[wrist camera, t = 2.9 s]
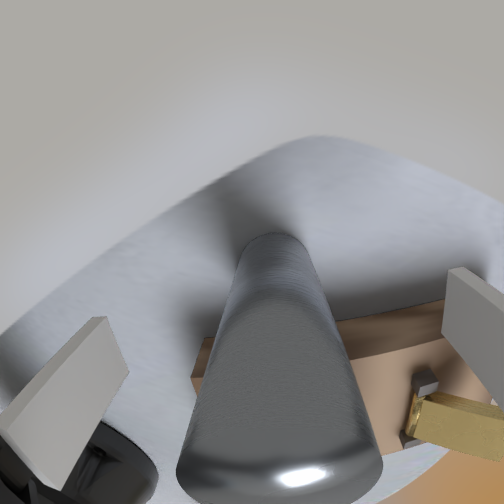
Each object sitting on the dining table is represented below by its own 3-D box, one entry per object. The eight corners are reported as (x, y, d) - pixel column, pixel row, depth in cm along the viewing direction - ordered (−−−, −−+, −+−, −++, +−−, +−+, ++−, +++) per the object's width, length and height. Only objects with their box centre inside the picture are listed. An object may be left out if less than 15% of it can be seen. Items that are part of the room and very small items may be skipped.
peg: (245, 304, 18) (207, 520, 5) (232, 238, 17) (143, 429, 4) (314, 295, 17) (370, 507, 5) (306, 227, 16) (397, 407, 4)
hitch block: (235, 436, 21) (228, 487, 16) (204, 338, 18) (185, 392, 14) (463, 390, 19) (489, 428, 14) (487, 287, 16) (530, 319, 12)
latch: (409, 423, 15) (402, 433, 15) (418, 385, 14) (411, 395, 14) (503, 449, 10) (499, 461, 9) (525, 411, 9) (522, 424, 8)
